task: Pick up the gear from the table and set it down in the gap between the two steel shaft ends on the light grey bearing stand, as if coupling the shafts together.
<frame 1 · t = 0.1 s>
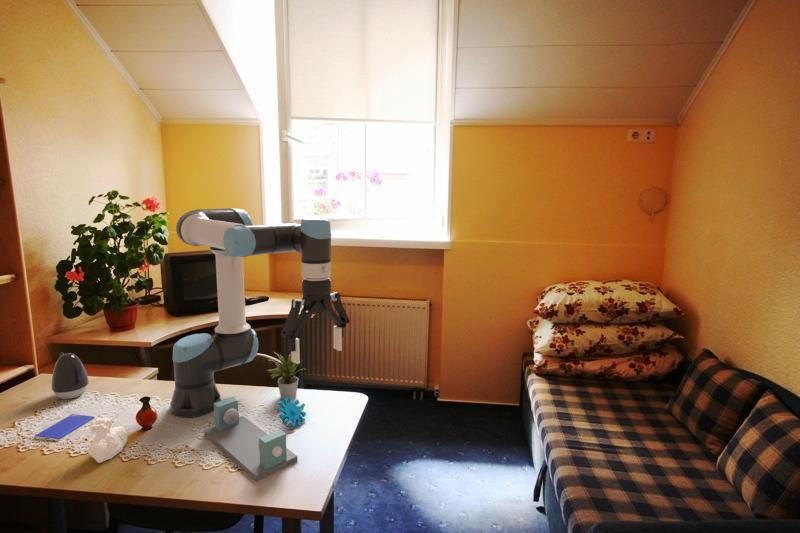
hand: (317, 355, 120), 28 cm above the table, tool pointing down, fingers open, 13 cm apart
house plant: (287, 395, 158), on the table
white irregular lump: (107, 454, 122), on the table
dark grey egg shape: (71, 396, 154), on the table
shaft stand: (248, 447, 126), on the table
hard drive: (66, 430, 134), on the table
gear: (293, 423, 140), on the table
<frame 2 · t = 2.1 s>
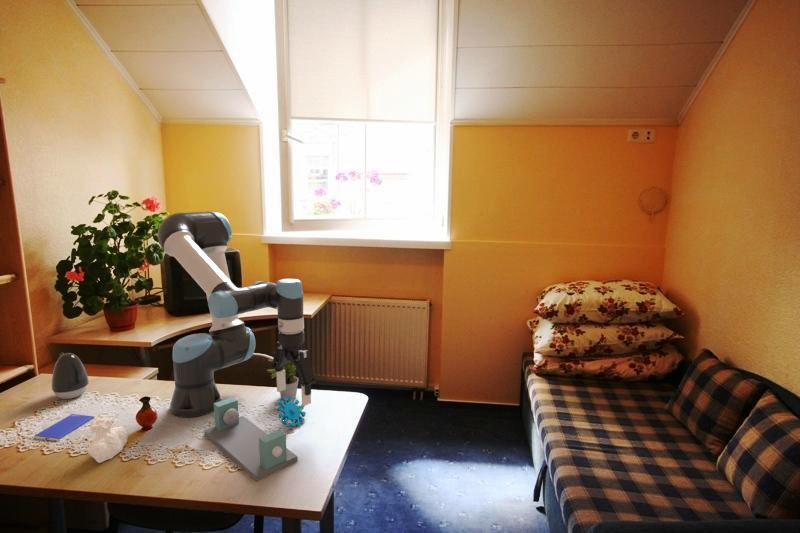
hand: (293, 397, 138), 8 cm above the table, tool pointing down, fingers open, 13 cm apart
nothing on the table moved.
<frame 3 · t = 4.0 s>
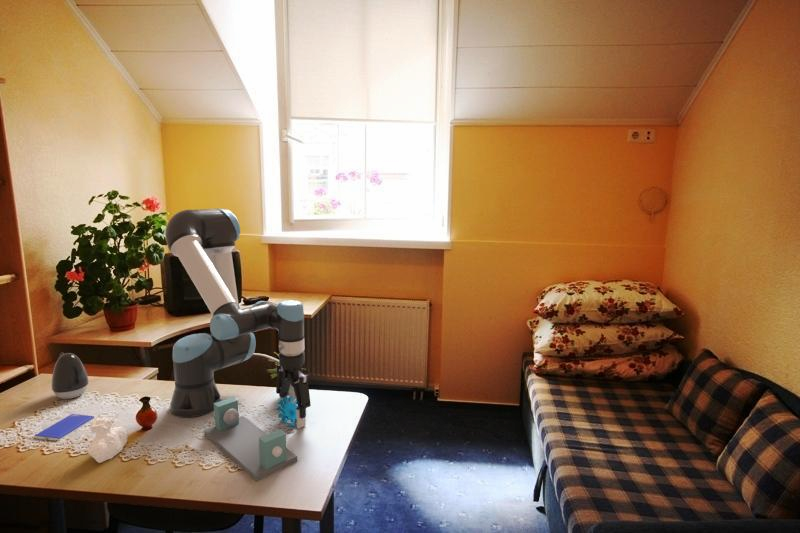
hand: (293, 421, 140), 0 cm above the table, tool pointing down, fingers closed on gear, 8 cm apart
gear: (292, 422, 140), on the table, touching gripper
everything else where it was.
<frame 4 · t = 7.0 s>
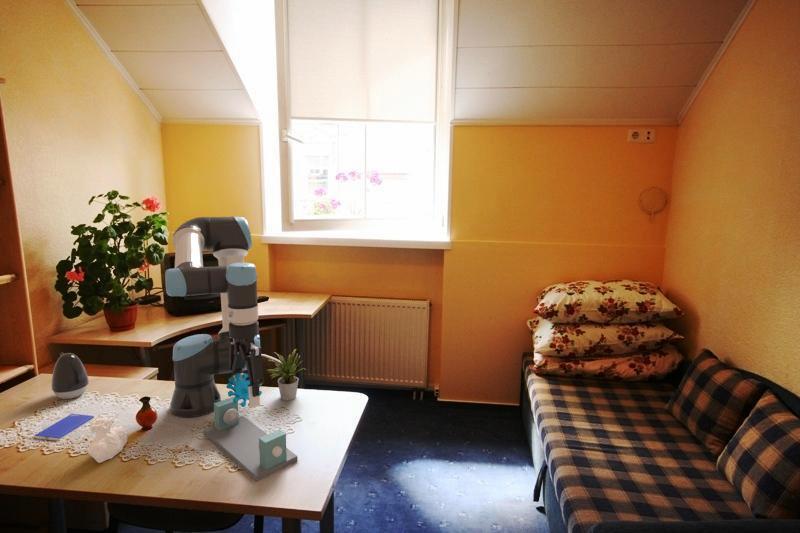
hand: (246, 401, 124), 14 cm above the table, tool pointing down, fingers closed on gear, 8 cm apart
gear: (246, 402, 124), point 13 cm above the table, touching gripper
everything else where it was.
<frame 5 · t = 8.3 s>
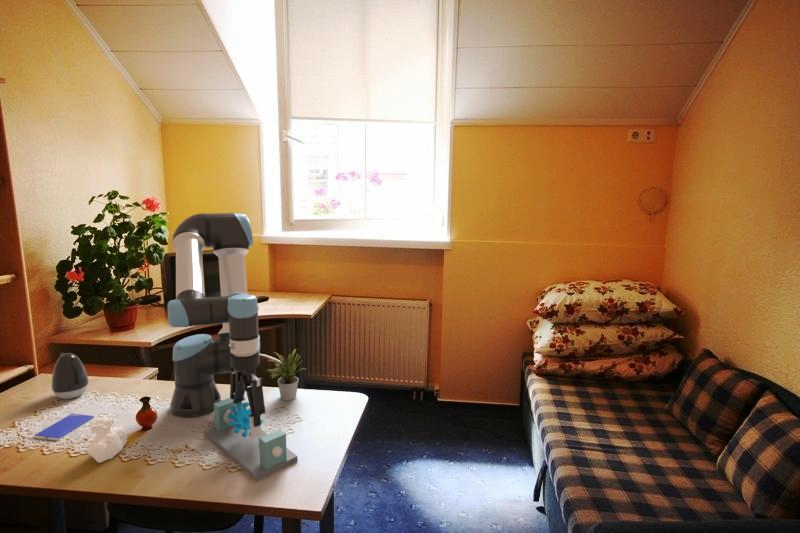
hand: (248, 430, 125), 5 cm above the table, tool pointing down, fingers closed on gear, 8 cm apart
gear: (247, 431, 125), point 5 cm above the table, touching gripper
everything else where it was.
when the fingers open (3 cm above the table, at t = 9.6 s): gear drops 1 cm, resting on shaft stand.
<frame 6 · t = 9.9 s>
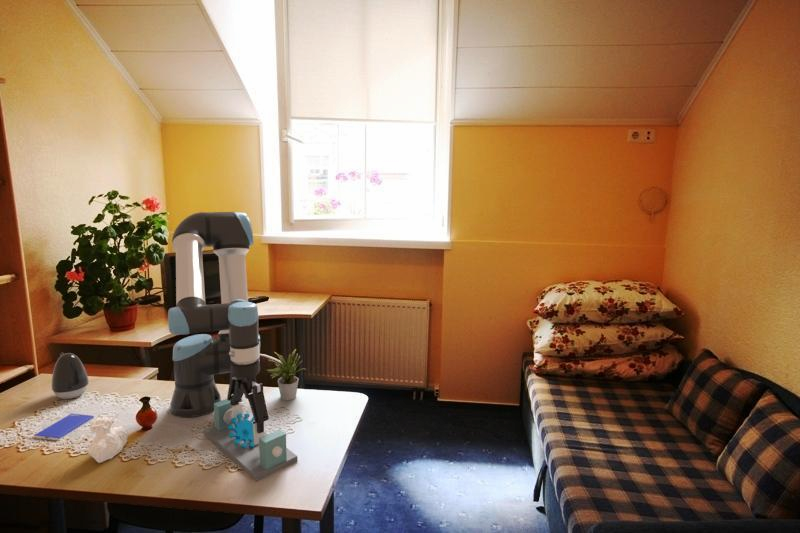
hand: (248, 433, 125), 4 cm above the table, tool pointing down, fingers open, 11 cm apart
gear: (247, 442, 126), point 1 cm above the table, touching shaft stand
everything else where it was.
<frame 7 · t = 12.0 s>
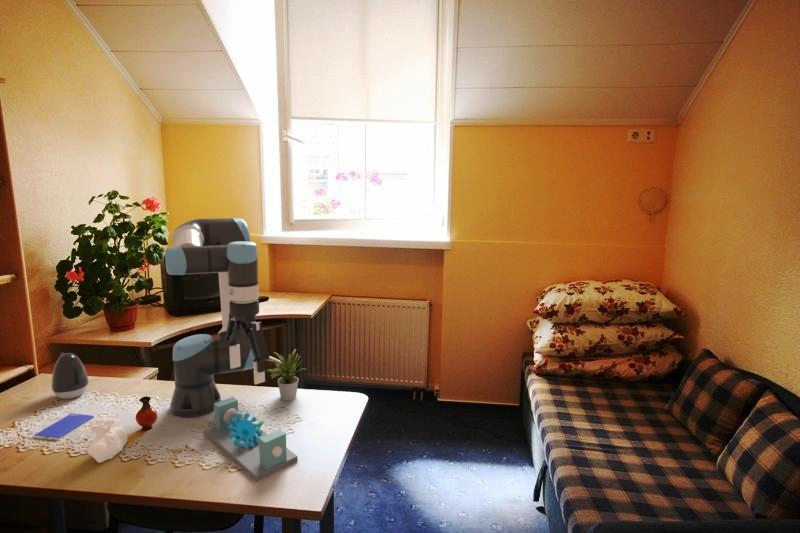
hand: (247, 374, 124), 21 cm above the table, tool pointing down, fingers open, 13 cm apart
nothing on the table moved.
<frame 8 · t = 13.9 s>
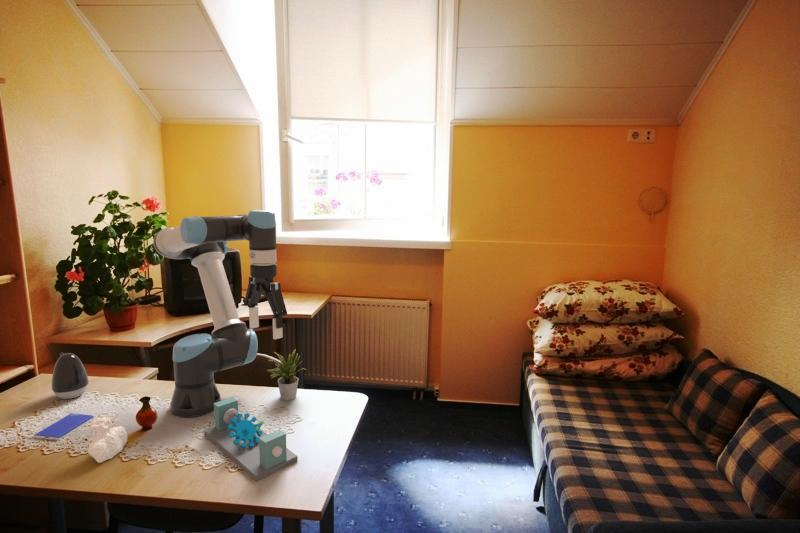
hand: (265, 332, 135), 29 cm above the table, tool pointing down, fingers open, 13 cm apart
nothing on the table moved.
at the end: gear 0.5 cm off-centre on the shaft stand, point 1.3 cm above the shaft stand's base; gear tilted 0°; the gripper is holding nothing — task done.
